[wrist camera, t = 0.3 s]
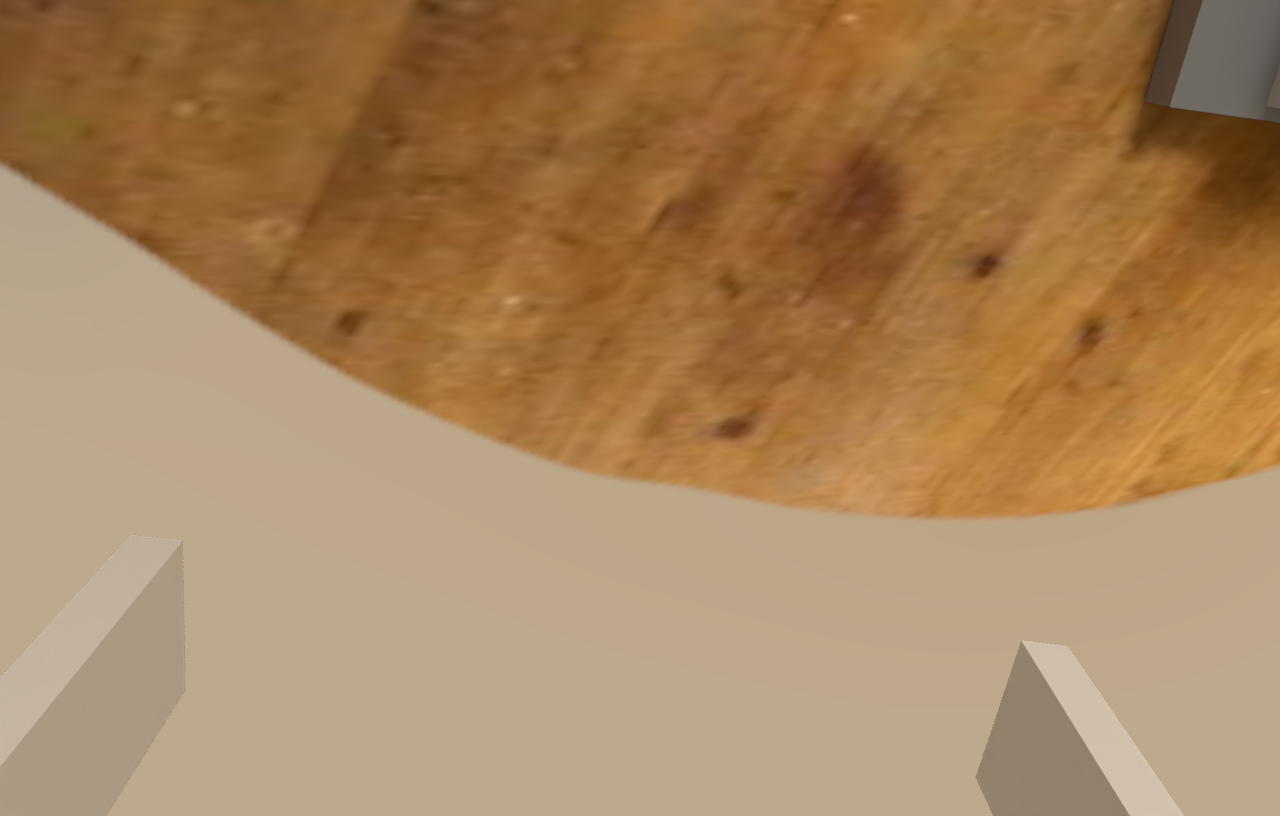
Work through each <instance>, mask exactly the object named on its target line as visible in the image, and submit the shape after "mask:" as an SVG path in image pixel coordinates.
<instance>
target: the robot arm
mask: <svg viewBox="0 0 1280 816" xmlns="http://www.w3.org/2000/svg"><path fill="white" fill-rule="evenodd" d="M184 649H185V646H184V581H183V541H182V540H174V539H166V538H158V537H149V536H140V535H130V536H129V537H128V538H127V539H126V540H125V542H124V543H123V544H122V545H121V546H120V547H119V548H118V549H117V550H116V551H115V553H114V554H113V555H112V556H111V557H110V558H109V559H108V560H107V561H106V562H105V563H104V564H103V566H102V567H101V568H100V569H99V570H98V571H97V572H96V573H95V574H94V575H93V576H92V578H91V579H90V580H89V581H88V582H87V583H86V584H85V585H84V586H83V588H82V589H81V590H80V591H79V592H78V593H77V594H76V595H75V596H74V597H73V599H71V601H70V602H69V603H68V604H67V605H66V606H65V607H64V608H63V609H62V610H61V612H60V613H59V614H58V615H57V616H56V617H55V618H54V619H53V620H52V621H51V622H50V624H49V625H48V626H47V627H46V628H45V629H44V630H43V631H42V632H41V633H40V635H39V636H38V637H37V638H36V639H35V640H34V641H33V642H32V643H31V645H29V647H28V648H27V649H26V650H25V651H24V652H23V653H22V654H21V655H20V656H19V657H18V659H17V660H16V661H15V662H14V663H13V664H12V665H11V666H10V667H9V668H8V669H7V671H6V672H5V673H4V674H3V675H2V676H1V677H0V816H106V815H107V814H108V812H109V811H110V809H111V808H112V806H113V804H114V803H115V801H116V800H117V798H118V796H119V795H120V793H121V792H122V790H123V789H124V787H125V785H126V784H127V782H128V780H129V779H130V777H131V775H132V774H133V772H134V771H135V769H136V768H137V766H138V765H139V763H140V762H141V760H142V758H143V757H144V755H145V754H146V752H147V750H148V749H149V747H150V746H151V744H152V743H153V741H154V739H155V738H156V736H157V734H158V733H159V731H160V730H161V728H162V727H163V725H164V723H165V722H166V720H167V719H168V717H169V716H170V714H171V712H172V711H173V709H174V707H175V706H176V704H177V703H178V701H179V700H180V698H181V696H182V695H183V693H184V692H185V652H184V651H185V650H184ZM976 779H977V781H978V783H979V785H980V788H981V790H982V792H983V794H984V797H985V799H986V801H987V803H988V805H989V808H990V810H991V812H992V814H993V816H1183V814H1182V813H1181V811H1180V810H1179V808H1178V807H1177V805H1176V804H1175V802H1174V801H1173V799H1172V798H1171V797H1170V795H1169V794H1168V792H1167V791H1166V789H1165V788H1164V786H1163V785H1162V783H1161V782H1160V780H1159V779H1158V778H1157V776H1156V775H1155V773H1154V772H1153V770H1152V769H1151V767H1150V766H1149V764H1148V763H1147V762H1146V760H1145V759H1144V757H1143V756H1142V754H1141V753H1140V751H1139V750H1138V748H1137V747H1136V745H1135V744H1134V742H1133V741H1132V740H1131V738H1130V737H1129V735H1128V734H1127V732H1126V731H1125V729H1124V728H1123V726H1122V725H1121V724H1120V722H1119V721H1118V719H1117V718H1116V716H1115V715H1114V713H1113V712H1112V710H1111V709H1110V708H1109V706H1108V704H1107V703H1106V702H1105V700H1104V699H1103V697H1102V696H1101V694H1100V693H1099V691H1098V690H1097V688H1096V687H1095V686H1094V684H1093V683H1092V681H1091V680H1090V678H1089V677H1088V675H1087V674H1086V673H1085V671H1084V669H1083V668H1082V667H1081V665H1080V664H1079V662H1078V661H1077V659H1076V658H1075V656H1074V655H1073V653H1072V652H1071V650H1070V649H1069V648H1068V646H1062V645H1054V644H1046V643H1037V642H1029V641H1021V643H1020V646H1019V649H1018V653H1017V656H1016V658H1015V662H1014V664H1013V667H1012V670H1011V673H1010V676H1009V679H1008V683H1007V685H1006V689H1005V691H1004V695H1003V697H1002V700H1001V703H1000V706H999V710H998V712H997V715H996V719H995V721H994V724H993V727H992V730H991V734H990V736H989V739H988V742H987V745H986V749H985V751H984V754H983V758H982V760H981V763H980V767H979V769H978V772H977V775H976Z"/></svg>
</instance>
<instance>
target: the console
mask: <svg viewBox="0 0 1280 816" xmlns="http://www.w3.org/2000/svg"><path fill="white" fill-rule="evenodd" d="M1144 102H1148V103H1152V104H1157V105H1162V106H1167V107H1173V108H1180V109H1187V110H1194V111H1201V112H1208V113H1215V114H1222V115H1229V116H1236V117H1243V118H1250V119H1257V120H1264V121H1271V122H1278V123H1280V0H1175V1H1174V4H1173V8H1172V11H1171V14H1170V18H1169V21H1168V24H1167V27H1166V31H1165V34H1164V37H1163V41H1162V44H1161V47H1160V51H1159V54H1158V57H1157V61H1156V64H1155V67H1154V70H1153V74H1152V77H1151V80H1150V84H1149V87H1148V90H1147V94H1146V97H1145V100H1144Z"/></svg>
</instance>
